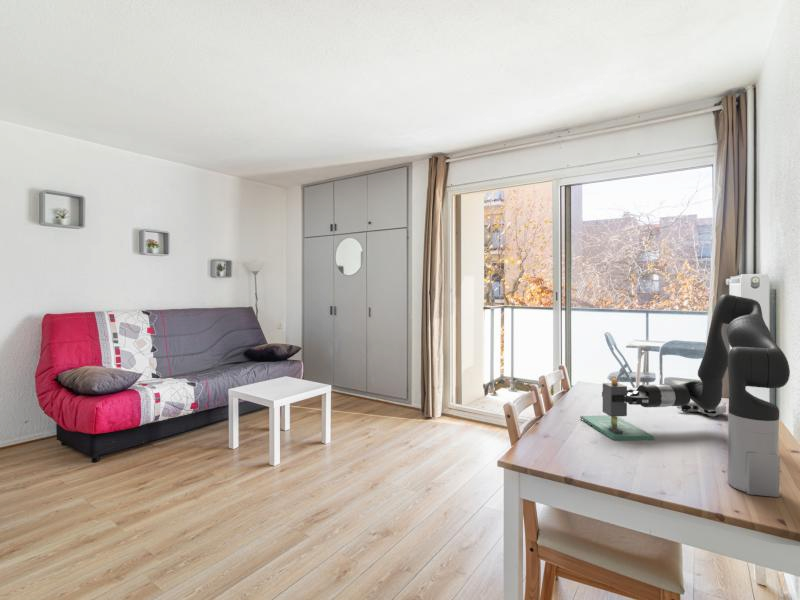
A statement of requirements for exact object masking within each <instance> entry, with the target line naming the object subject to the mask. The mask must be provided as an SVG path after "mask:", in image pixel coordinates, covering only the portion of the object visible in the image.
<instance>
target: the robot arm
mask: <svg viewBox="0 0 800 600" xmlns="http://www.w3.org/2000/svg"><path fill="white" fill-rule="evenodd" d="M723 324H725V325H727V327H726V337H727V341H728V343H729V346H730V347H731V348H730V349H729V351H728V349H727V347H726V345H725V341H724V338H723V335H722V333H723V332H722V331H723V330H722V329H723ZM773 338H774V337H773V336H772V334H771V331H770V330H769V327H768V325H766V322H765V320H764V317H763V311H762V307H761V304H760V303H759V301H758V300H755V299H752V298H748V297H742V296H739V295H738V296H737V295H733V294H726V293H725V294H722V295H720V297H719V298H718V299H717V301H716V303H715V306H714V309H713V313H712V316H711V322H710V326H709V330H708V334H707V338H706V339H707V340H706V344H705V345H706V346H705V350H704V352H703V353H704V354H703V356H702V358H701V361H700V365H699V367H698V370H697V376H698V378H699V379H700V380H699V381H698V380H691V381H687V382H684V383H680V384H676V385H675V384H641V385H639V386H637V388H636V389H633V388H629V389H627V395H624V396H623V395H612V396H611V401H612V402H624V403H627V405H631V406H632V405H634V406H635V405H636V406H641V407H642V408H666V407H668V408H669V407H677V406H685V405H687V404H688V403H689V402H690V400H692V401H694V402H695V403H696V404H697V405H698V406H699V407H701V408H702V409H705V410H712V409H715V408H716V407H717V406H718V405H719V404H720V402H721V403H722V399H723V398H722V397H723V381H724V380H723V379H724V377H725V375H726V372H727V374H728V375H727V377H728V408H727V409H728V411H727V412H728V413H727V415H728V417H727V419H728V420H727V423H728V424H727V477H726V478H727V484H728V485H729V486H731V487H733V489H734V488H735V489H737V490H739V491H742V492H744V493H746V495H750V496H751V495H752V496H765V497H772V498H773V497H775V498H779V497H780V478H781V477H780V476H781V473H780V471H781V466H780V465H781V456H780V455H779V439H780V437H779V435H780V434H779V431H780V409H779V407H778V406H777V405H775V404H774V403H772V402H769V401H766V400H764V399H761V398H759V397H757V396H755V395H753V394H751V393H750V392H748V391H747V388H746V387H753V388H764V389H779V388H782V387H784V386H785V385H787V384H788V382H789V379H790V377H791V376H790V375H791V374H790V373H791V372H790V371H791V370H790V369H791V368H790V365H789V361H788V359H787V356H786V354H785V353H784V351H782V349H781V348H780V347H779V346H778V345H777V344H776V342H775V341H774V339H773ZM601 397H602V398H603V390H602V392H601Z"/></svg>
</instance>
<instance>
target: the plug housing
mask: <svg viewBox="0 0 800 600" xmlns="http://www.w3.org/2000/svg"><path fill="white" fill-rule="evenodd" d="M627 390H628V386H626V385H624V384H621V383H619V382H618V378H615V377H614V378H611V382H602V391H603V397H602V413H604V414H606V416H617V417H627V416H628V403H624V402H612V401H611V396H612V395H623V396H624V395H627Z"/></svg>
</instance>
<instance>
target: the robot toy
mask: <svg viewBox="0 0 800 600" xmlns="http://www.w3.org/2000/svg"><path fill="white" fill-rule="evenodd" d="M726 404H727V402H722V401H721V402H720V404H719V405H718V406H717V407H716V408H715V409H712V410H705V409H702V408H701V407H699V406H698V405H697V404H696V403H695V402H694V401H693V400H691V399H690V402H689V403H688V404H687V405H685V406H676V409H679V410H680V409H681V411H686V412H688V413H692V412H695V413H697V412H698V411H699V412H700V413H702V414H705V415H707V416H709V417H717V416H720V415H723V414H725V413H726V412H727V408H726V407H727V406H726Z"/></svg>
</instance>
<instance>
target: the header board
mask: <svg viewBox="0 0 800 600" xmlns="http://www.w3.org/2000/svg"><path fill="white" fill-rule="evenodd" d="M580 418H581V419H583V420H584V421H586V422H587V423H588V424H587V423H586V422H585V423H586V424H587V425H589V424H590V425H592V426H593V427H594V429H595V428H596V429H595V430H597V431H598V432H600V433H601V434H602V435H605V436H606V437H607V438H609V439H611V440H612V441H634V440H635V441H637V440H638V441H640V440H641V441H645V440H649V441H650V440H653V441H654V435H653V434H651V433H649V432H647V431H646V430H644V429H641V428H640V427H638V426H636V425H634V424H632V423H631V422H628V421H627V420H624V419H623V418H621V417H620V416H609V415H580V417H579V419H580ZM581 419H580V420H581ZM583 420H582V421H583ZM584 421H583V422H584ZM590 425H589V426H590ZM592 426H591V427H592ZM593 427H592V428H593Z"/></svg>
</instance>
